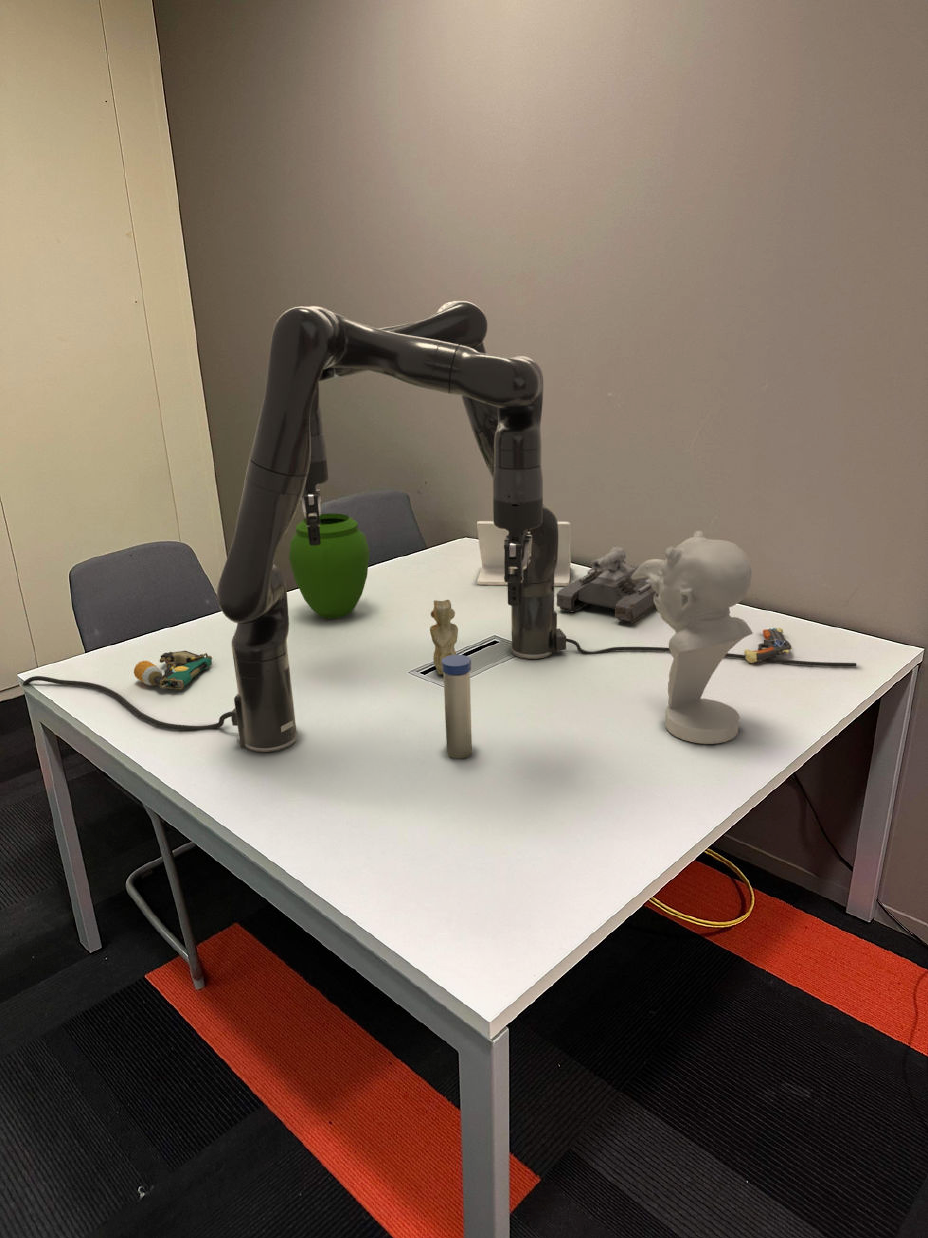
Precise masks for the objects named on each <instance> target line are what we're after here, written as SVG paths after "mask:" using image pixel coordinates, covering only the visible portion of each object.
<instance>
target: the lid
mask: <svg viewBox="0 0 928 1238" xmlns="http://www.w3.org/2000/svg"><path fill="white" fill-rule="evenodd" d="M442 671H443V672H444V673H446V674H450V675H461V674H465V673H468V672H469V671H470V672H471V671H472V659H471V657H469V656H468V655H464V654H456V655H450V656H446V657H444V658H443V659H442Z"/></svg>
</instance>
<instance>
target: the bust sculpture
mask: <svg viewBox="0 0 928 1238" xmlns="http://www.w3.org/2000/svg"><path fill="white" fill-rule="evenodd" d="M664 554H665V559H660V558H653V559H648V560H645V561H644V562H642V563H641V564H640V565H639V566H638V567H639V568H638V569H637V570H636V571H635V573H634V574H633V575H632V576H631V578H632V579H634V580H635V579H640V578H644V577H647V578H649V579H650V583H651V587H652V589H653V590H654V591H655V592H656V593H655V594H654V597H653V600H654V604H655V605H656V607H655V608H656V611H657V612H658V614H659V615H660V618H661V619H662V620H663V622H665V623H666V624H667V625H668V626H669V627H670V628H671V629H672V630H673V631H675V634H673V635H672V636H671V638H669V641H668V648H669V649H670V651H669V653H670V654H671V657H672V658H673V660H672V663H671V666H670V669H669V673H668V682H667V694H668V696H667V697H668V700H667V705H668V706H666V708H665V718H664V726H665V728H666V730H667V731H668V732H669V733H670V734H671V735H673V736H675V737H676V738H679V739H680V740H683V741H687V742H691V743H696V744H703V745H713V744H721V743H726V742H729V741H731V740H733V739H734V738H736V736H738V733H739V729H740V728H739V727H740V715H739V714H740V713H738V711H737V710H736V709H735V708H734V707H732V706H730V705H728V704H727V703H724V702H721V701H719V700H714V699H709V698H702V696H703V695H704V694H703V693H704V692H705V690H706V687H707V685H708V684H709V681H710V680H711V678H712V676H713V674H714V673H715V671H716V670H717V668H718V667H719V665H720V664H721V662H722V661H723V660H724V658H725V655H726V654H727V653H729V652H730V651H731V650H732V649H733V648H734V647H735V646H736V645H738V643H739V642H741V641H742V640H743V639H745V638H747V637H749V636H751V635H753V634H754V632H753V630H752V629H751V628H750V626H749V624H748V623H747V622H746V621H745V620H744V619H743V618H740V617H737V616H731V614H730V613H731V610H730V608H732V607H734V606H736V605H737V604H739V603H740V602H741V601H742V600H744V599H745V597H746V595H747V594H748V592H749V590H750V586H751V583H752V574H753V573H752V572H753V571H752V565H751V561H750V559H749V557H748V555H747V554H746V552H745V551H744V550H743V549H742V548H741V547H740V546H739V545H737V544H736V543H734V542H731V541H728V540H723V539H711V538H707V536H706V534H705V532H703V530H696V531H694V533H693V536H691V537H689V538H687V539H684V541H682V542H681V543H679V544H678V545H677V546H675V547H674V546H669V547H667V548H666V551H665V553H664Z"/></svg>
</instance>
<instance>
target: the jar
mask: <svg viewBox="0 0 928 1238" xmlns="http://www.w3.org/2000/svg"><path fill="white" fill-rule="evenodd" d="M443 692H444V693H443V695H444V717H445V718H444V719H445V721H444V722H445V742H446V743H445V744H446V755H447V756H448V757H449V758H451V759H454V760H463V759H467V758H470V757H471V755H472V753H473V741H472V740H473V736H472V734H473V733H472V704H471V703H472V702H471V701H472V700H471V670H470V671H469V672H468V673H465V674H461V675H450V674H446V673H444V674H443Z"/></svg>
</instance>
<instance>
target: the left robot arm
mask: <svg viewBox="0 0 928 1238" xmlns="http://www.w3.org/2000/svg"><path fill="white" fill-rule="evenodd" d="M270 338H271V339H270V346H269V356H268V364H267V365H268V366H267V372H266V373H267V375H266V383H265V390H264V396H263V401H262V405H261V409H260V413H259V417H258V420H257V424H256V430H255V432H254V433H255V434H254V438H253V441H252V446H251V450H250V452H249V453H250V454H249V458H248V463H247V467H246V470H245V472H246V473H245V476H244V482H243V488H242V493H241V496H240V497H241V498H240V503H239V507H238V512H237V516H236V517H237V518H236V523H235V529H234V533H233V537H232V538H233V539H232V542H231V546H230V549H229V551H228V555H227V557H226V560H225V564H224V566H223V569H222V572H221V574H220V577H219V580H218V584H217V589H216V599H217V603H218V606H219V609H220V610H221V612H222V614H223V615H224V616H225V617H226V618H227V619H229V621H231V622H232V623H235V624H237V625H236V628H235V631H234V633H233V636H232V638H231V652H232V658H233V659H232V661H233V666H234V673H235V674H234V675H235V681H236V687H237V694H236V695H235V696H234V698H233V703H234V708H233V709H232V710H231V711H228V712H225V713H223V714H222V715H220V716H219V718H218V722H217V723H213V724H208V725H187V724H176V723H169V722H164V721H161V720H158V719H155V718H153V717H152V716H149V715H147V714H145V713H143V712H142V711H141V710H139V709H138V708H137V707H136V706H135V705H133V704H132V703H130V702H129V701H128V700H127V699H126V698H125V697H124V696H122V695H121V694H119V693H118V692H116V691H114V690H113V689H111V688H108V687H106V686H104V685H101V684H98V683H93V682H89V681H80V680H69V679H68V680H67V679H58V678H54V677H50V676H42V675H35V676H31V677H28V678H26V679H25V680H24V681H23V683H22V686H28V685H29V684H30V683H32V682H37V681H39V682H47V683H52V684H56V685H63V686H75V687H86V688H92V689H95V690H98V691H102V692H104V693H106V694H108V695H110V696H112V697H113V698H115V699H116V700H118V701H119V702H120V703H121V704H122V705H124V706H125V707H126V708H127V709H128V710H130V711H131V712H132V713H133V714H134V715H136V716H137V717H139V718H140V719H142V720H144V721H146V722H148V723H150V724H152V725H155V726H158V727H161V728H164V729H169V730H177V731H188V732H190V731H191V732H196V731H198V732H199V731H208V730H209V731H210V730H217V729H220V728H221V727H223V725H225V720H226V719H229V718H231V724H232V726H233V727H237V733H238V739H239V746H240V747H243V748H244V747H245V748H246V749H247V750H249V751H251V752H256V753H273V752H277V751H282V750H284V749H287V748H289V747H291V746H292V745H293V744H295V742H296V741H297V740H298V731H297V723H296V714H295V713H296V712H295V705H294V697H293V688H292V687H293V686H292V680H291V679H292V678H291V670H290V662H289V661H290V659H289V652H288V651H289V650H288V635H289V630H290V619H289V617H290V616H289V603H288V592H287V591H288V590H287V584H286V581H285V578H284V575H283V573H282V570H281V569H280V568H279V567H278V566H277V564H276V563H275V561H276V556H277V552H278V550H279V547H280V545H281V542H282V541H283V539H284V537H285V535H286V533H287V531H288V529H289V527H290V526H291V524H292V521H293V520H294V517H295V515H296V513H297V511H298V509H299V506H300V504H301V498H302V495H303V492H304V488H305V484H306V480H307V476H308V472H309V467H310V460H311V435H310V413H311V407H312V402H313V399H314V395H315V392H316V389H317V385H318V382H319V383H320V381H319V379H320V376H321V374H322V371H323V370H324V369H327V368H355V369H363V370H368V371H367V372H373V373H376V374H381V375H384V376H387V377H390V378H393V379H396V380H398V381H400V382H403V383H406V384H409V385H411V386H414V387H419V388H422V389H426V390H431V391H435V392H439V393H444V394H448V395H455V396H461V397H462V396H466V397H469V398H472V399H475V400H478V401H481V402H483V403H486V404H490V405H493V406H496V407H498V426H497V429H496V432H495V439H494V465H495V466H494V476H493V477H492V505H493V507H492V508H493V521H494V525H495V526H496V527H498V528H500V529H506V530H508V531H509V534H508V535H506V539H504V549H505V557H504V565H505V576H504V580H505V582H508V585H507V604H508V605H509V606H510V607H511V606H520V605H522V602H523V593H522V588H527V587H528V565H527V564H529V562H530V558H529V557H531V551H532V548H531V545H532V535H531V529H534V528H537V527H539V526H541V524H542V522H543V505H544V479H543V471H542V470H543V469H542V434H541V424H542V415H543V403H544V375H543V371H542V369H541V367H540V366H539V364H538V363H537V362H536V361H535V360H533V359H532V358H530V357H528V356H524V355H517V356H513V357H505V356H500V355H494V354H490V353H489V354H488V353H486V354H484V353H479V352H477V351H476V350H475V349H472V348H470V347H466V346H462V345H458V344H453V343H448V342H443V341H438V340H433V339H427V338H422V337H415V336H409V335H404V334H398V333H393V332H388V331H384V330H380V328H376V327H373V326H370V325H366V324H363V323H360V322H357V321H355V320H352V319H350V318H347V317H345V316H343V315H340V314H338V313H335V312H333V311H330V310H329V309H327V308H325V307H321V306H316V305H308V306H294V307H292V308H289V309H288V310H286V311H285V312H283V313H282V314H281V315H280V316H279V317H278V319H277V320H276V322H275V324H274V326H273V329H272V333H271V337H270ZM511 569H514V574H511Z"/></svg>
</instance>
